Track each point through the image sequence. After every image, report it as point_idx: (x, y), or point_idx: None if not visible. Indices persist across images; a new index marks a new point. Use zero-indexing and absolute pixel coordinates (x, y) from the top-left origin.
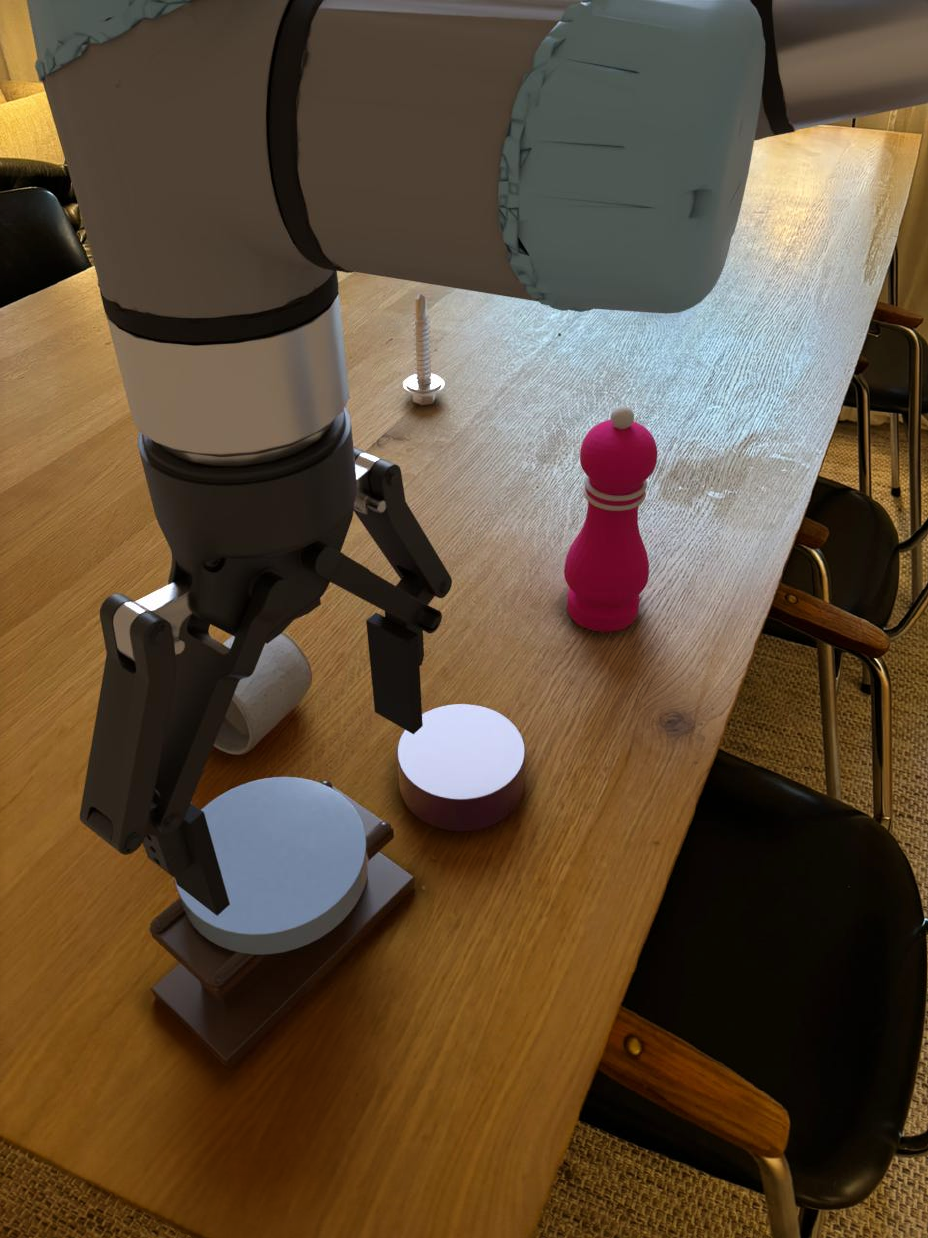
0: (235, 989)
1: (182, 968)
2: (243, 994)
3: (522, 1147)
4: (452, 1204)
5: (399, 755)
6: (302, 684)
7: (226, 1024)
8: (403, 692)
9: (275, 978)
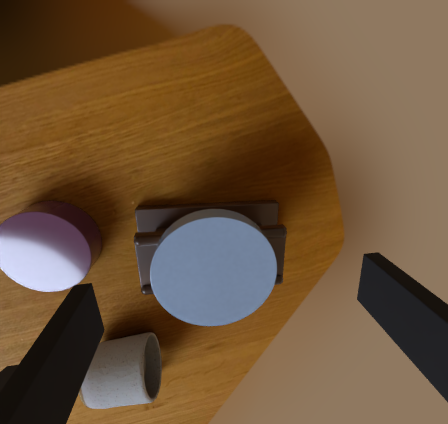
0: None
1: None
2: None
3: (208, 47)
4: (255, 61)
5: (82, 277)
6: (95, 353)
7: (265, 217)
8: (67, 342)
9: None
